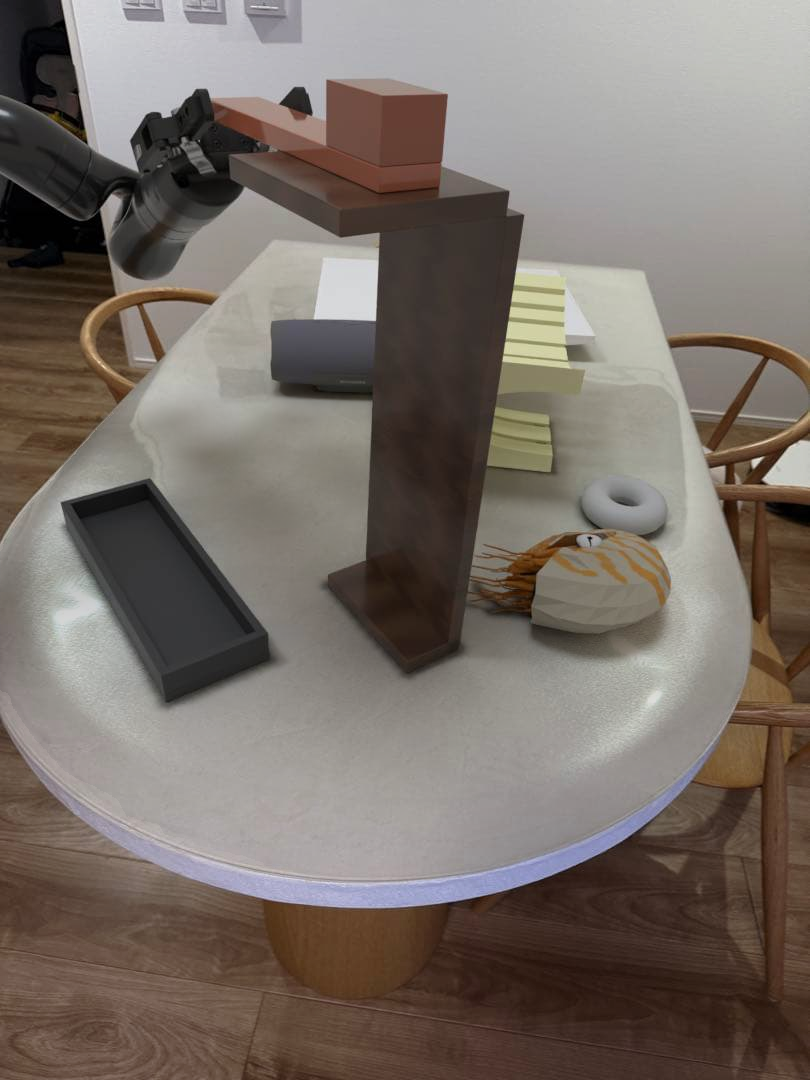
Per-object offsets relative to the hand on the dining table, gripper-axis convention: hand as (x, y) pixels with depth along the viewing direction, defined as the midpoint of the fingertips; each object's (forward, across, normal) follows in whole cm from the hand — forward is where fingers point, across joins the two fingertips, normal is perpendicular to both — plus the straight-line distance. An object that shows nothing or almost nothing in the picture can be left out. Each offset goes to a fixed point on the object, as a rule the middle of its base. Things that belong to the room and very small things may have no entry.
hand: (257, 101), depth 56 cm
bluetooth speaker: (-46, +27, +22) cm, 58 cm away
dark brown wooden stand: (-8, 0, +44) cm, 44 cm away
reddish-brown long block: (+6, 0, +5) cm, 8 cm away
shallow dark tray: (-21, -13, +36) cm, 44 cm away
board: (-59, +56, +14) cm, 83 cm away
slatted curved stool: (-27, +35, +33) cm, 55 cm away
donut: (-8, +38, +44) cm, 58 cm away
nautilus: (-2, +20, +47) cm, 51 cm away
